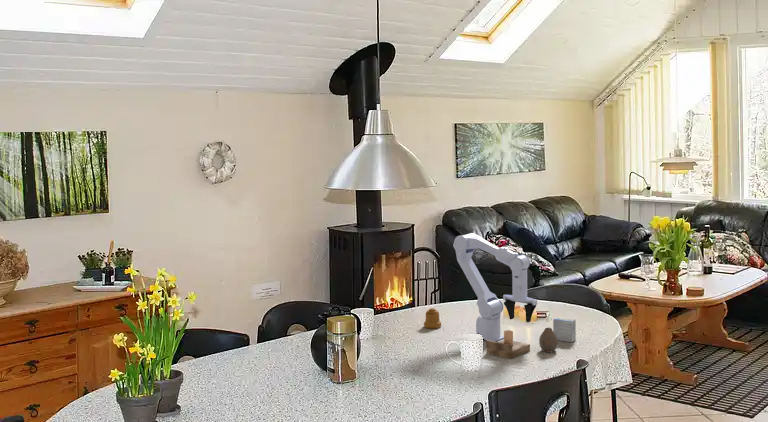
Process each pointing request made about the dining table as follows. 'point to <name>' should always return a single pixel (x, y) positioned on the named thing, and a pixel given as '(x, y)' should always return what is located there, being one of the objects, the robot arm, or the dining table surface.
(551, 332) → the vase
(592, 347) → the dining table surface
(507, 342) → the peach rounded cylinder
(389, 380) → the dining table surface
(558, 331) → the medicine box
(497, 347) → the brown wooden box
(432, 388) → the dining table surface
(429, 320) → the ornamental finial
